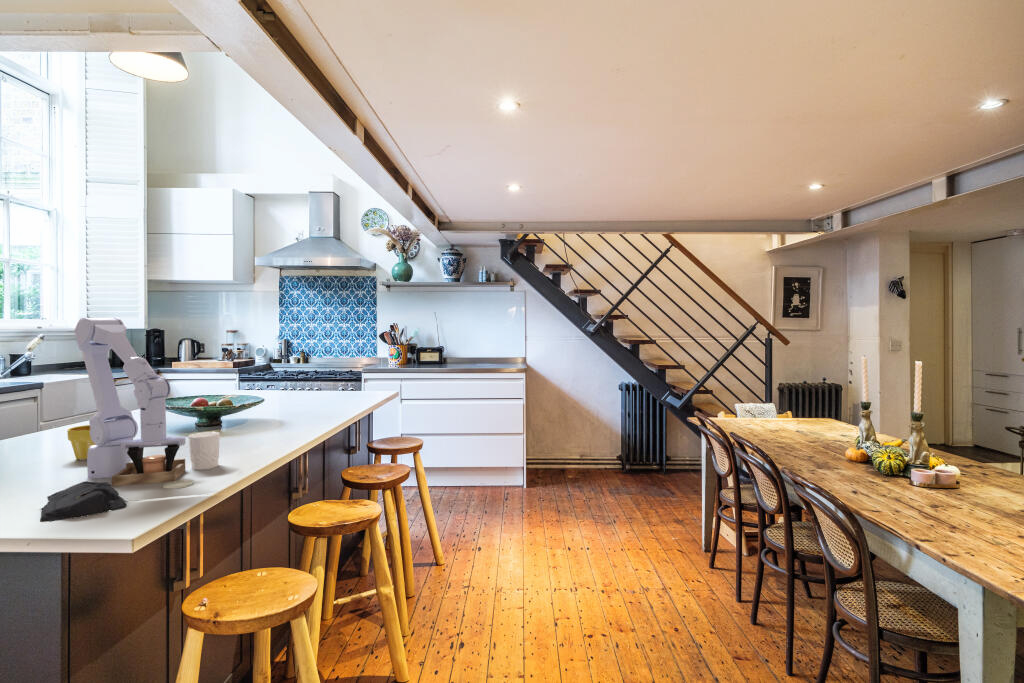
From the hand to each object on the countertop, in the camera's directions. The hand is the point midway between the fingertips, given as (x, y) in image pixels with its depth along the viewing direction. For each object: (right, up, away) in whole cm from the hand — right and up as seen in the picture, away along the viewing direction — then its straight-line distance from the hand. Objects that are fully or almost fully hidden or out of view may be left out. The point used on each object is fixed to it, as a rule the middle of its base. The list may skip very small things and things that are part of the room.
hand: (154, 473), depth 148 cm
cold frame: (-1, -2, 0) cm, 2 cm away
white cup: (+7, -2, +12) cm, 14 cm away
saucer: (+11, -2, -7) cm, 13 cm away
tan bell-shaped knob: (0, -1, 0) cm, 1 cm away
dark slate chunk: (-4, -3, -20) cm, 20 cm away
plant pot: (-38, -2, +26) cm, 46 cm away
